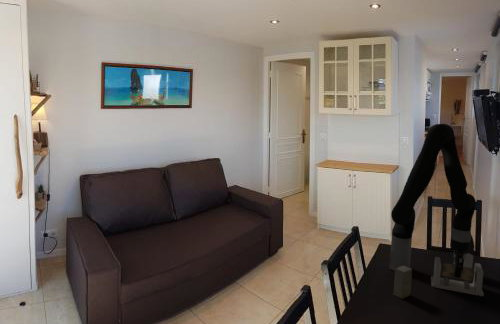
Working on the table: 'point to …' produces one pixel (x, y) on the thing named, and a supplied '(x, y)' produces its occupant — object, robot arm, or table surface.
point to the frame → (458, 285)
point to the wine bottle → (469, 255)
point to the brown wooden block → (450, 272)
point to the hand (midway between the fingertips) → (456, 274)
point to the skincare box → (402, 281)
